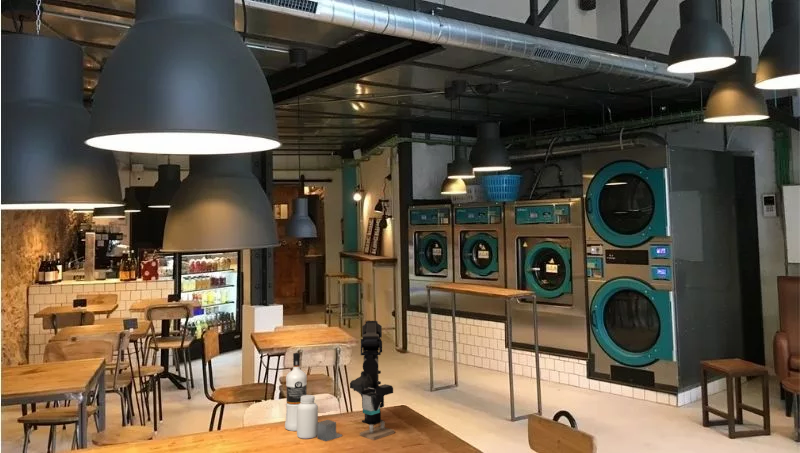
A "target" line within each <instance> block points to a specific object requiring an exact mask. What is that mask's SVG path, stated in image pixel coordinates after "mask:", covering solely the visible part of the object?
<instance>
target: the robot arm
mask: <svg viewBox="0 0 800 453" xmlns="http://www.w3.org/2000/svg"><path fill="white" fill-rule="evenodd" d="M382 329H383V328H382V325H381V324H379V323H378V321H377V320H366V321H365V323H364V324H363V325H362V330H361V331H362V332H361V336H362V338H360V356H363V361H362V369H363V370H362V371H361V372H360V376H359V377H357V378H355V379H352V380H351V381H350V383H349V389H353V391H354V392H357V393H358V394H360V396H361V406H362V407H361V408H362V409H363V394H367V393H370V392H372V393H373V394H371V395H372V396H373V398H374V410H375V411H377V410H378V408H379V405H380V409H383V408H384V407H385V396H387V395H391V394H394V387H393V386H392V385H390V384H386V383H385V384H382V382H381V381H380V380H379V374H381V373H382V372H381V370H379V356H381V354H382V353H383V341H382V337H383V336H382V335H383V334H382V333H383V330H382ZM381 414H382V411H381V410H380V413H377V414H374V415H368V414H365V413H364V419H362V420H361V423H364V424H369V425H376V424H379V423H381V421H384V420H383V419H382V417H381V416H382V415H381Z"/></svg>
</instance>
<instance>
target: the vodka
mask: <svg viewBox="0 0 800 453" xmlns="http://www.w3.org/2000/svg"><path fill="white" fill-rule="evenodd" d="M300 357H301V356H300V352H294V353H293V354H292V358H293V359H292V362H293V363H292V364H293V365H292V366H293V367H292V370H290V371H289V372H288V373H287V374H286V376H285V381H286V382H285V386H286V403H285V407H286V408H285V410H286V412H285V422H284V428H285V429H286V430H287V431H289V432H297V406H298V405H299V404H300V403H301V402H300V401H301V396H303V395H308V394H307V385H308V382H307V381H308V380H307V379H308V376H307V373H306V372H305V371H303V370H302V369H301V368H300V367H301V366H300V365H301V364H300V360H301V359H300Z"/></svg>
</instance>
